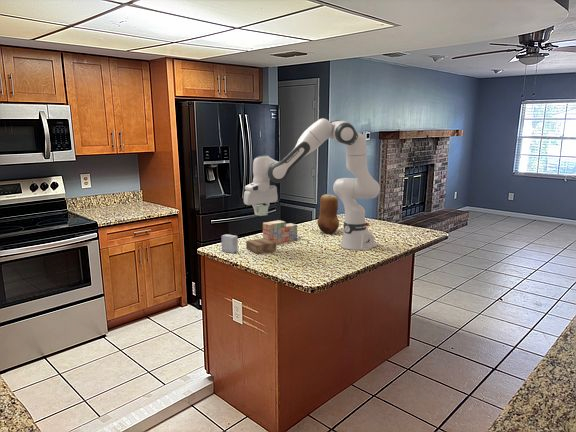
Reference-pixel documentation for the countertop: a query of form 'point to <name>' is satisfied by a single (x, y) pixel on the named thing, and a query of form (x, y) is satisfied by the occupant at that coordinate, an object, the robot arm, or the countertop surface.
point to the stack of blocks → (279, 231)
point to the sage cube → (262, 210)
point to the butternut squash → (328, 214)
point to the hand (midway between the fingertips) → (261, 211)
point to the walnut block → (261, 246)
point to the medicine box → (229, 243)
